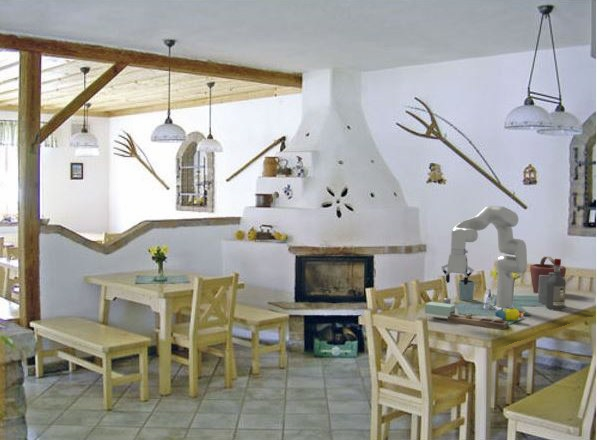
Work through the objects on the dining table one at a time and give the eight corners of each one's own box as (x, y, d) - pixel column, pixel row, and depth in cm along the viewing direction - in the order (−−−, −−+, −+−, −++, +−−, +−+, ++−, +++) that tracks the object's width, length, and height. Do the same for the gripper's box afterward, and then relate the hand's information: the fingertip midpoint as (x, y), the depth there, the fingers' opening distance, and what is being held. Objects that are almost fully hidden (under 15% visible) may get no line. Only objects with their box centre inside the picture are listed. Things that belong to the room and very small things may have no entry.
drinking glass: (468, 297, 439) (469, 279, 439) (477, 300, 430) (478, 281, 429) (454, 298, 436) (455, 279, 436) (463, 301, 427) (464, 282, 426)
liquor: (543, 307, 412) (546, 258, 410) (555, 306, 416) (557, 258, 414) (555, 310, 404) (557, 260, 402) (566, 309, 408) (569, 259, 406)
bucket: (566, 297, 450) (568, 259, 448) (530, 295, 455) (532, 258, 453) (560, 291, 474) (562, 255, 472) (527, 289, 479) (529, 253, 477)
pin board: (452, 318, 374) (453, 310, 374) (508, 326, 359) (508, 318, 359) (447, 321, 367) (447, 313, 366) (503, 329, 351) (504, 321, 351)
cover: (430, 310, 381) (430, 301, 381) (455, 313, 374) (455, 304, 373) (424, 313, 373) (425, 304, 373) (449, 316, 366) (450, 307, 366)
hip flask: (564, 306, 419) (566, 273, 418) (562, 307, 416) (564, 274, 415) (538, 302, 430) (540, 270, 428) (536, 303, 426) (538, 271, 425)
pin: (444, 312, 392) (444, 298, 391) (450, 312, 390) (451, 299, 389) (441, 313, 389) (442, 299, 388) (448, 314, 386) (449, 300, 386)
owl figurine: (513, 312, 355) (485, 308, 365) (513, 328, 356) (485, 324, 366) (532, 304, 377) (506, 301, 387) (532, 320, 378) (506, 316, 387)
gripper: (475, 252, 366) (474, 284, 367) (444, 250, 375) (443, 281, 376) (471, 254, 360) (470, 286, 361) (440, 251, 369) (438, 282, 370)
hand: (456, 283), depth 369 cm, fingers open, 9 cm apart
